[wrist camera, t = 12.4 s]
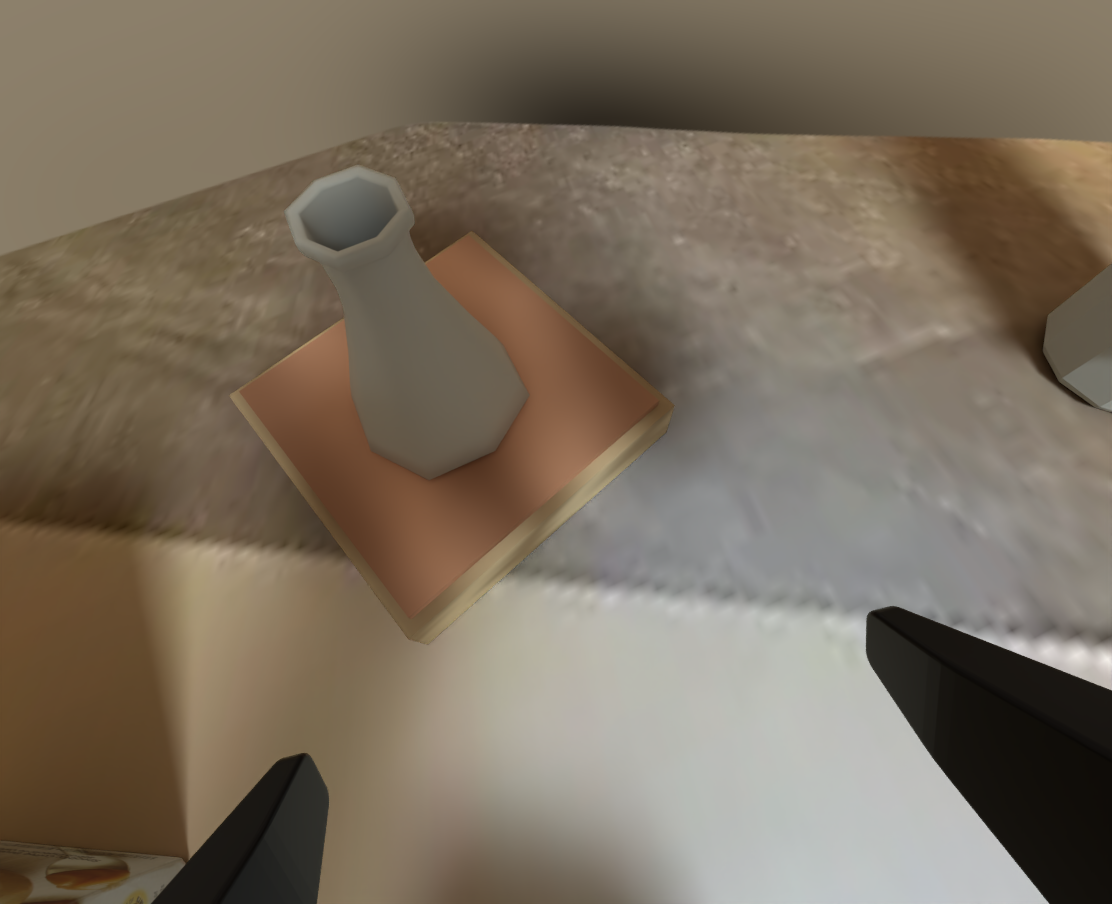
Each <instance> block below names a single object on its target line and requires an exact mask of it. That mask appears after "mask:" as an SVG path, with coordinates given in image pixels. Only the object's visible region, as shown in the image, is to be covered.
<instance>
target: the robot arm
mask: <svg viewBox="0 0 1112 904" xmlns="http://www.w3.org/2000/svg"><path fill="white" fill-rule="evenodd" d="M866 654H867V658H868V661H869V663H870V665H871V667H872V668H873V670H874V671H875V673H876V674H877V676H878V677H879V679H880V680H881V682H882V683H883V685H884V686H885V688H886V689H887V691H888V692H889V694H890V695H891V697H892V698H893V700H894V701H895V703H896V704H897V706H898V707H899V709H900V710H901V712H902V713H903V715H904V716H905V718H906V719H907V721H908V722H909V724H910V725H911V727H912V728H913V730H914V731H915V733H916V734H917V736H918V737H919V739H920V740H921V742H922V743H923V745H924V746H925V748H926V749H927V751H928V752H929V753H930V755H931V756H932V758H933V759H934V760H935V762H936V763H937V764H938V765H939V767H940V768H941V769H942V771H943V772H944V773H945V775H946V776H947V777H948V778H949V780H950V781H951V782H952V783H953V785H954V786H955V787H956V788H957V789H958V791H959V792H960V793H961V794H962V796H963V797H964V798H965V799H966V801H967V802H968V803H969V804H970V806H971V807H972V808H973V809H974V811H975V812H976V813H977V814H978V816H979V817H980V818H981V819H982V821H983V822H984V823H985V824H986V826H987V827H988V828H989V829H990V831H991V832H992V833H993V834H994V836H995V837H996V838H997V839H998V840H999V842H1000V843H1001V844H1002V845H1003V847H1004V848H1005V849H1006V850H1007V852H1008V853H1009V854H1010V855H1011V857H1012V858H1013V859H1014V860H1015V862H1016V863H1017V864H1018V865H1019V867H1020V868H1021V869H1022V870H1023V872H1024V873H1025V874H1026V875H1027V877H1028V878H1029V879H1030V880H1031V882H1032V883H1033V884H1034V885H1035V887H1036V888H1037V889H1038V890H1039V892H1040V893H1041V894H1042V895H1043V896H1044V898H1045V899H1046V900H1047V901H1048V903H1049V904H1112V690H1109V689H1107V688H1104V687H1101V686H1099V685H1096V684H1094V683H1091V682H1089V681H1086V680H1084V679H1081V678H1078V677H1076V676H1073V675H1071V674H1068V673H1066V672H1063V671H1061V670H1058V669H1055V668H1053V667H1050V666H1048V665H1045V664H1043V663H1040V662H1038V661H1035V660H1032V659H1030V658H1027V657H1025V656H1022V655H1020V654H1017V653H1015V652H1012V651H1009V650H1007V649H1004V648H1002V647H999V646H997V645H994V644H992V643H989V642H986V641H984V640H981V639H979V638H976V637H974V636H971V635H969V634H966V633H963V632H961V631H958V630H956V629H953V628H951V627H948V626H946V625H943V624H940V623H938V622H935V621H933V620H930V619H928V618H925V617H923V616H920V615H918V614H915V613H912V612H910V611H907V610H905V609H902V608H899V607H896V606H889V607H885V608H881V609H877V610H873V611H871V612H869V614H868V615H867V620H866ZM328 808H329V795H328V790H327V787H326V785H325V783H324V781H323V779H322V777H321V775H320V773H319V771H318V769H317V767H316V765H315V763H314V761H313V759H312V758H311V756H310V755H309V754H307V753H301V754H297V755H293V756H289V757H285V758H282V759H280V760H278V761H277V762H276V763H275V764H274V765H273V766H272V767H271V768H270V770H269V771H268V772H267V773H266V774H265V775H264V776H263V777H262V779H261V780H260V781H259V782H258V783H257V784H256V785H255V786H254V788H253V789H252V790H251V791H250V792H249V793H248V794H247V795H246V797H245V798H244V799H243V800H242V801H241V802H240V803H239V804H238V806H237V807H236V808H235V809H234V810H233V811H232V812H231V814H230V815H229V816H228V817H227V818H226V819H225V820H224V821H223V823H222V824H221V825H220V826H219V827H218V828H217V829H216V830H215V832H214V833H213V834H212V835H211V836H210V837H209V838H208V839H207V841H206V842H205V843H204V844H203V845H202V846H201V847H200V849H199V850H198V851H197V852H196V853H195V854H194V855H193V856H192V858H191V859H190V860H189V861H188V862H187V863H186V864H185V865H184V867H183V868H182V869H181V870H180V871H179V872H178V873H177V874H176V876H175V877H174V878H173V879H172V880H171V881H170V882H169V883H168V885H167V886H166V887H165V888H164V889H163V890H162V891H161V893H160V894H159V895H158V896H157V897H156V898H155V899H154V900H153V902H152V903H151V904H317V898H318V890H319V882H320V873H321V865H322V857H323V849H324V841H325V833H326V825H327V816H328Z"/></svg>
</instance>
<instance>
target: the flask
mask: <svg viewBox="0 0 1112 904" xmlns="http://www.w3.org/2000/svg"><path fill="white" fill-rule="evenodd" d="M284 213H285V216H286V219H287V222H288V225H289V227H290V230H291V233H292V236H293V239H294V241H295V244H296V246H297V248H298V249H299V251H300V252H301V253H302V254H303V255H304V256H306V257H308V258H310V259H313V260H315V261H317V262H320V263H321V265H322V266H323V268H324V269H325V271H326V273H327V274H328V276H329V278H330V279H331V281H332V283H333V284H334V286H335V288H336V289H337V292H338V295H339V297H340V300H341V303H342V306H343V312H344V320H345V329H346V337H347V345H348V355H349V375H350V389H351V397H352V399H353V402H354V405H355V408H356V411H357V413H358V416H359V419H360V422H361V425H362V427H363V430H364V433H365V436H366V438H367V441H368V444H369V447H370V450H371V451H372V452H374V453H376V454H378V455H380V456H382V457H384V458H386V459H388V460H390V461H392V462H394V463H396V464H398V465H400V466H402V467H404V468H406V469H408V470H410V471H412V472H414V473H415V474H417V475H419V476H421V477H423V478H425V479H427V480H431V479H433V478H436V477H438V476H440V475H442V474H445V473H447V472H449V471H451V470H454V469H456V468H458V467H460V466H462V465H465V464H467V463H469V462H471V461H474V460H476V459H478V458H480V457H483V456H485V455H487V454H489V453H492V452H494V451H496V449H497V447H498V446H499V444H500V443H501V441H502V439H503V438H504V436H505V434H506V433H507V431H508V430H509V428H510V426H511V425H512V423H513V422H514V420H515V418H516V417H517V415H518V413H519V412H520V410H521V409H522V407H523V405H524V404H525V402H526V400H527V399H528V397H529V396H530V395H529V393H528V391H527V389H526V387H525V385H524V383H523V381H522V380H521V378H520V376H519V374H518V372H517V370H516V368H515V366H514V364H513V362H512V360H511V359H510V357H509V355H508V353H507V351H506V349H505V347H504V345H503V344H502V343H501V342H500V341H499V340H498V339H497V338H496V337H495V336H494V335H493V334H492V333H491V332H490V331H488V330H487V329H486V328H485V327H484V326H483V325H482V324H481V323H480V322H479V321H477V320H476V319H475V318H474V317H473V316H472V315H471V314H470V313H469V312H468V311H467V310H466V309H465V308H464V307H463V306H462V305H461V304H460V303H459V302H458V301H457V300H456V299H455V298H454V297H453V296H452V295H451V294H450V293H449V292H448V291H447V290H446V289H445V288H444V287H443V286H442V285H441V284H440V283H439V282H438V281H437V280H436V279H435V278H434V277H433V275H432V274H431V272H430V271H429V269H428V267H427V266H426V264H425V263H424V261H423V260H422V258H421V257H420V255H419V254H418V252H417V251H416V249H415V247H414V244H413V242H412V240H411V236H410V232H409V230H410V229H411V228H412V227H413V225H414V223H415V221H414V214H413V212H412V209H411V207H410V205H409V203H408V201H407V199H406V197H405V195H404V193H403V191H402V189H401V187H400V185H399V183H398V181H397V179H396V178H395V177H392V176H389V175H386V174H384V173H381V172H378V171H375V170H373V169H370V168H367V167H364V166H361V165H359V164H358V165H355V166H352V167H349V168H347V169H344V170H341V171H338V172H335V173H332V174H330V175H327V176H324V177H321V178H318V179H316V180H313V181H312V182H311V184H310V185H309V186H308V187H307V188H306V189H305V190H304V191H303V192H302V193H301V194H300V195H299V196H298V197H297V198H296V199H295V200H294V201H293V202H292V203H291V204H290V206H289V207H288V208H287V209H286V210H285V211H284Z"/></svg>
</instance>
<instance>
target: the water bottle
mask: <svg viewBox="0 0 1112 904" xmlns="http://www.w3.org/2000/svg"><path fill="white" fill-rule="evenodd" d="M1043 353H1044V355H1045V357H1046V358H1047V360H1048V362H1049V364H1050V366H1051V368H1052V369H1053V371H1054V373H1055V375H1056V377H1057V379H1058V381H1059V382H1060V383H1062V384H1063V385H1064V386H1066V387H1067V388H1069V389H1070V390H1071V391H1073V392H1074V393H1076V394H1077V395H1078V396H1080V397H1081V398H1083V399H1084V400H1085V401H1087V402H1088V403H1090V404H1091V405H1092V406H1094V407H1095V408H1099V409H1102V410H1105V411H1108V412H1112V264H1110V265H1109V266H1108V267H1107V268H1106V269H1104V270H1103V271H1102V272H1101V273H1099V274H1098V275H1097V276H1096V277H1094V278H1093V279H1092V280H1091V281H1089V282H1088V283H1087V284H1086V285H1084V286H1083V287H1082V288H1081V289H1080V290H1078V291H1077V292H1076V293H1075V294H1073V295H1072V296H1071V297H1070V298H1068V299H1067V300H1066V301H1065V302H1063V303H1062V304H1061V305H1060V306H1058V307H1057V308H1056V309H1055V310H1054V311H1052V312H1051V313H1050V314H1049V315H1048V318H1047V325H1046V332H1045V339H1044V346H1043Z"/></svg>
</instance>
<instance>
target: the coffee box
mask: <svg viewBox="0 0 1112 904" xmlns="http://www.w3.org/2000/svg"><path fill="white" fill-rule="evenodd" d="M184 865H185V862H184V861H183V859H182V858H180V857H170V856H159V855H148V854H139V853H128V852H116V851H105V850H94V849H83V848H72V847H60V846H50V845H40V844H30V843H21V842H11V841H0V904H151V903H152V902H153V900H154V899H155V898H156V897H157V896H158V895H159V894H160V893H161V891H162V890H163V889H164V888H165V887H166V886H167V885H168V883H169V882H170V881H171V880H172V879H173V878H174V877H175V876H176V874H177V873H178V872H179V871H180V870H181V869H182V868H183V867H184Z"/></svg>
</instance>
